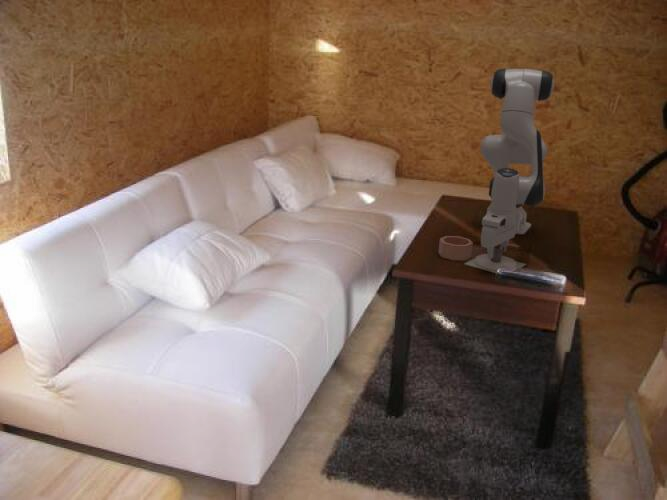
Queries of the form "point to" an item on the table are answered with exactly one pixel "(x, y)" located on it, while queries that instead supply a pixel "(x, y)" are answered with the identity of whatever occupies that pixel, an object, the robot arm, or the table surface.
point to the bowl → (455, 248)
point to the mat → (472, 263)
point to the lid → (494, 260)
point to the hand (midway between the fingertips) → (496, 254)
